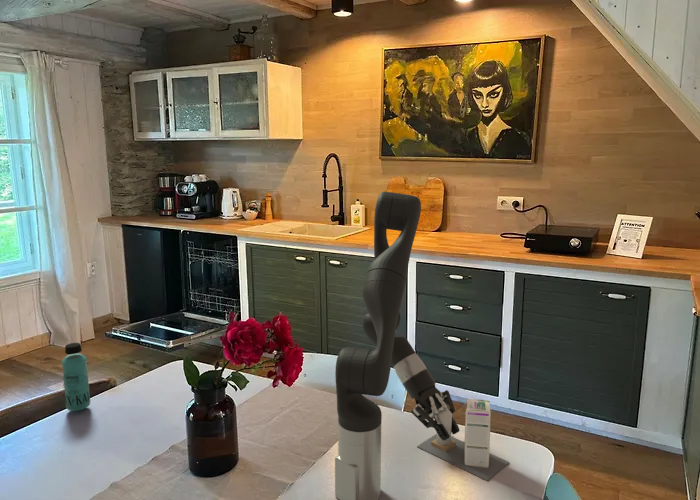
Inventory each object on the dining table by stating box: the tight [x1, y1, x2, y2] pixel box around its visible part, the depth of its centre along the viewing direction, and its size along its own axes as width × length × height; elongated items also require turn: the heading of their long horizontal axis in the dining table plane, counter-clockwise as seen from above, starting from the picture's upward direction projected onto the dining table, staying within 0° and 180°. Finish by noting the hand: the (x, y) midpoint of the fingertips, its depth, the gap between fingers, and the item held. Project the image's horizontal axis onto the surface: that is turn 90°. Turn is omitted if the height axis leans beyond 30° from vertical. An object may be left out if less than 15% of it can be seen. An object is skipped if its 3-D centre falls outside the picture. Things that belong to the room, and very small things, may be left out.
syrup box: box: [464, 398, 492, 468], centre depth 130 cm, size 6×6×14 cm
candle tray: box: [416, 410, 510, 482], centre depth 133 cm, size 10×20×9 cm, turn 46°
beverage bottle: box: [61, 342, 91, 412], centre depth 154 cm, size 6×7×20 cm
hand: (451, 435), depth 136 cm, fingers closed on candle tray, 3 cm apart
